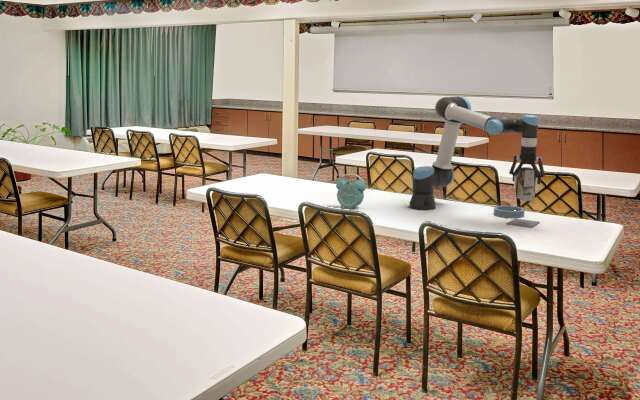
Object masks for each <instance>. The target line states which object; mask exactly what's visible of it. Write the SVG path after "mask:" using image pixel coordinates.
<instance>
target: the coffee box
mask: <svg viewBox="0 0 640 400" xmlns="http://www.w3.org/2000/svg"><path fill="white" fill-rule="evenodd" d="M517 175H518V180H517V188H516V198H517V199H518V200H521V201H523V202H525V201H526V202H528V201H529V202H532V201H535V198H536V197H535V196H536V191H535V183H536V178H537V175H536V170H534V169H533V167H531V166H528V167H527V166H526V167H525V166H524V167H523V166H522V167H521V168H520V169H519V171H518V173H517Z"/></svg>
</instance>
